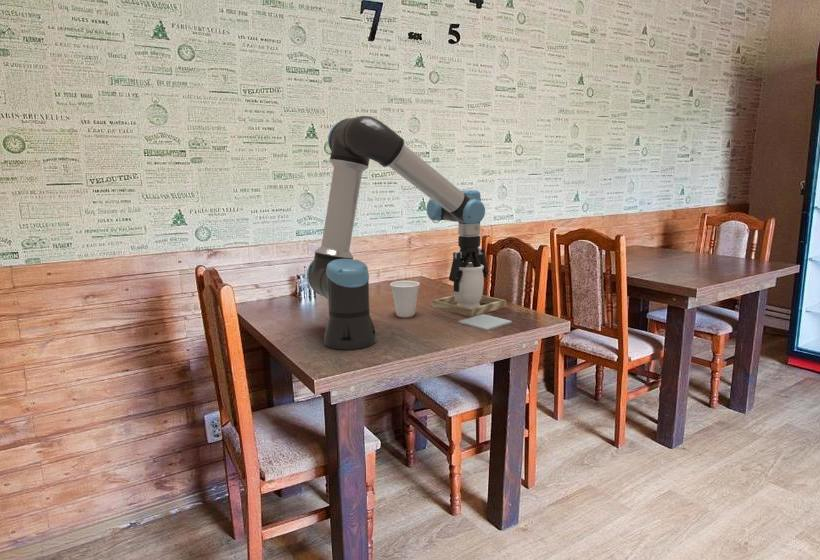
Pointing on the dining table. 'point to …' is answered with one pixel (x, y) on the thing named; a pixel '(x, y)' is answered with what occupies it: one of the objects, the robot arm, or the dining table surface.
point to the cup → (405, 297)
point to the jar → (471, 286)
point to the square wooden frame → (448, 306)
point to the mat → (485, 322)
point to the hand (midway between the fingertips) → (468, 297)
